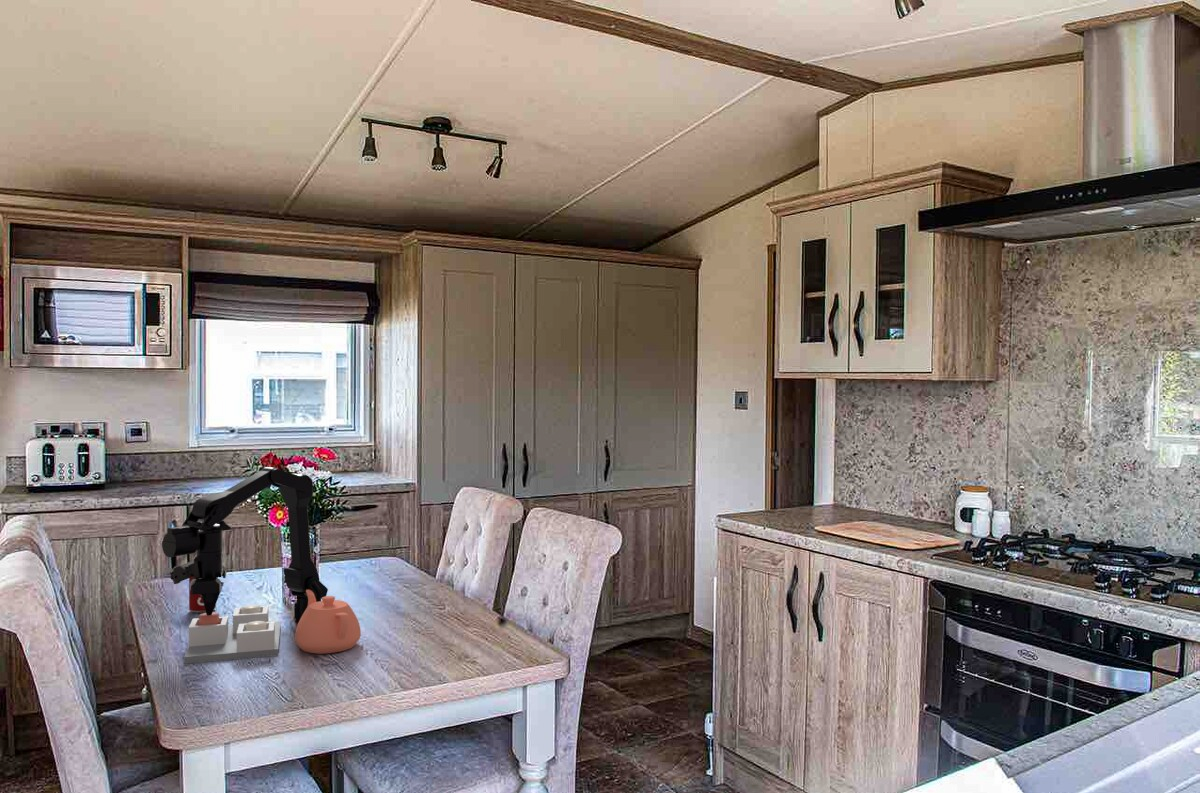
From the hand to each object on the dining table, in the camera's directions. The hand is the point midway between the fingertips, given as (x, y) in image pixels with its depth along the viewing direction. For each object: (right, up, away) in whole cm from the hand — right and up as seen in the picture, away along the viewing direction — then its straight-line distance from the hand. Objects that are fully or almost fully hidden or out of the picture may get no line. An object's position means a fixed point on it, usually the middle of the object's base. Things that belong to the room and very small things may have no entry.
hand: (209, 614), depth 209 cm
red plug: (0, -5, 0) cm, 5 cm away
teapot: (+28, -8, +1) cm, 29 cm away
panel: (+6, -8, +2) cm, 10 cm away
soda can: (-16, -7, +32) cm, 36 cm away
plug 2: (+13, -6, -4) cm, 15 cm away
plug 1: (+6, -6, +11) cm, 13 cm away
